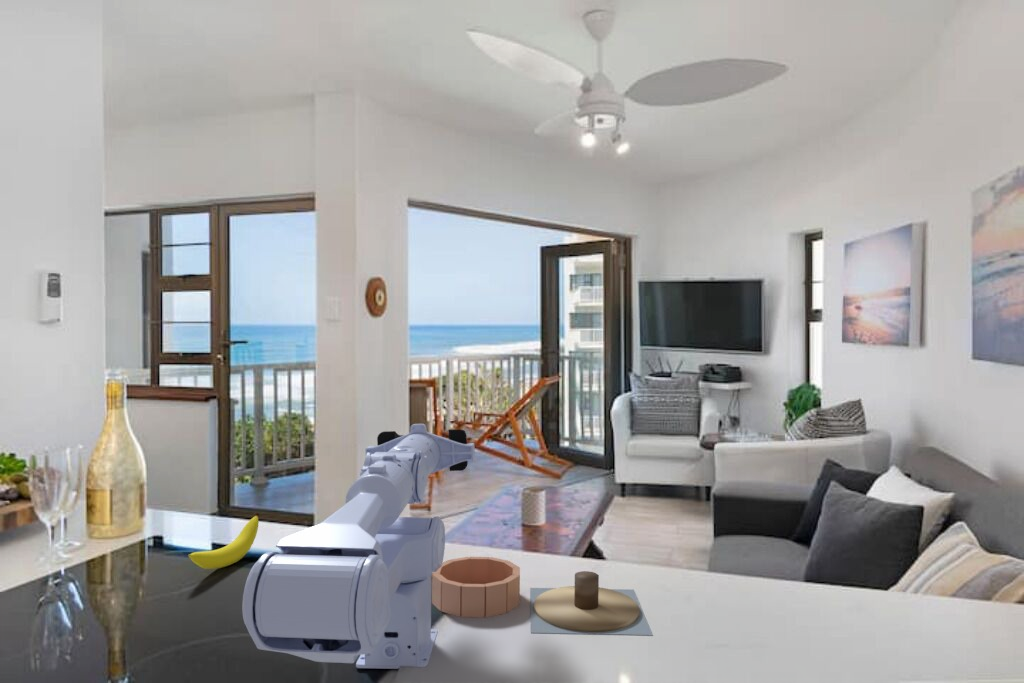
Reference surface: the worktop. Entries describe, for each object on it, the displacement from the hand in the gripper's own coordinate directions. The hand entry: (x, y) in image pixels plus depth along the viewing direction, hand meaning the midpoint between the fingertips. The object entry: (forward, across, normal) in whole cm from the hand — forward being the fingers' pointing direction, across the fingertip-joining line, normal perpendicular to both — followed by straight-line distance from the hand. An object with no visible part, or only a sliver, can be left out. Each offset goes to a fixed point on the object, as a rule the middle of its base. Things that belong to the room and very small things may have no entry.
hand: (431, 441), depth 100 cm
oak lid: (-8, -22, +22) cm, 32 cm away
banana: (+6, +35, +20) cm, 41 cm away
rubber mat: (-8, -22, +22) cm, 32 cm away
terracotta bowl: (-6, -6, +22) cm, 23 cm away
